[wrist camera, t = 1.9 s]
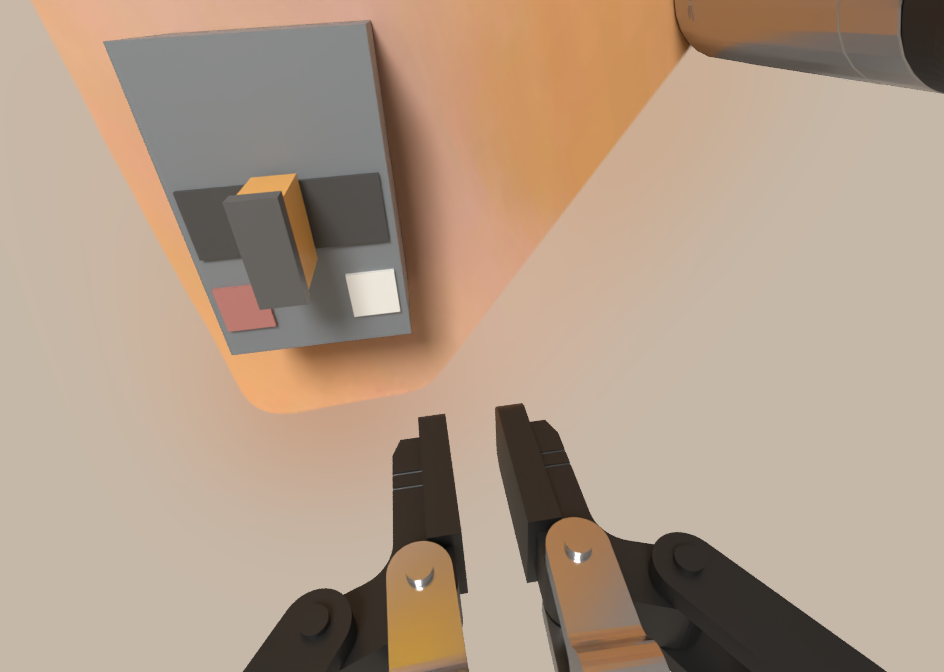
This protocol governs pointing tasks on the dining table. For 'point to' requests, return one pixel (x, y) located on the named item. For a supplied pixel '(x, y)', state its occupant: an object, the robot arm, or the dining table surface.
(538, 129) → the dining table surface
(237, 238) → the breaker handle
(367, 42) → the breaker box
